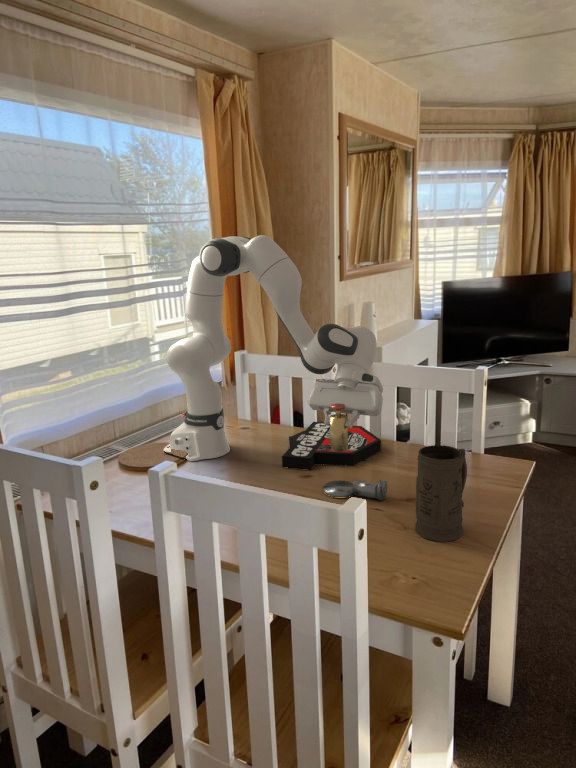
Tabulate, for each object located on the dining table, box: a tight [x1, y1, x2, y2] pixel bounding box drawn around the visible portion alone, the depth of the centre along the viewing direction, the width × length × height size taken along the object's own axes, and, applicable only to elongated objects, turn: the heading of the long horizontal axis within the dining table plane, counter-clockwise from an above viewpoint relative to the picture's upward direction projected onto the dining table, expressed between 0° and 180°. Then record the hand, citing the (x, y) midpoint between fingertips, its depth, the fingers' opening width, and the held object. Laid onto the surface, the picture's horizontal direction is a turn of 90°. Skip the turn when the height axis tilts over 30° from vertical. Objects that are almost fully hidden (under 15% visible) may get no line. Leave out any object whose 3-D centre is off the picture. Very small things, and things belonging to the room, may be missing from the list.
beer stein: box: [414, 444, 468, 543], centre depth 133 cm, size 15×11×20 cm
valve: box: [329, 403, 348, 452], centre depth 152 cm, size 5×5×12 cm
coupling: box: [322, 479, 388, 501], centre depth 154 cm, size 17×9×5 cm, turn 61°
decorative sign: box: [281, 421, 382, 471], centre depth 186 cm, size 34×4×30 cm
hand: (337, 425), depth 151 cm, fingers closed on valve, 5 cm apart
